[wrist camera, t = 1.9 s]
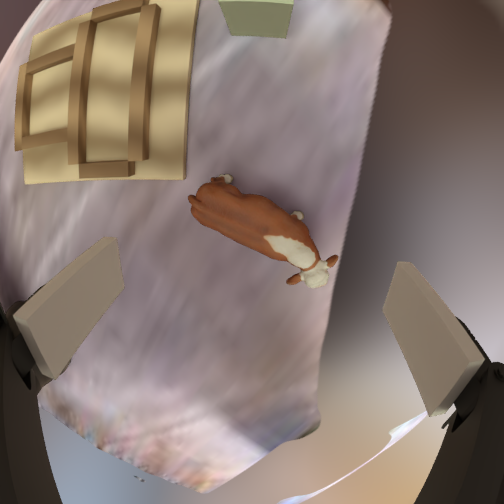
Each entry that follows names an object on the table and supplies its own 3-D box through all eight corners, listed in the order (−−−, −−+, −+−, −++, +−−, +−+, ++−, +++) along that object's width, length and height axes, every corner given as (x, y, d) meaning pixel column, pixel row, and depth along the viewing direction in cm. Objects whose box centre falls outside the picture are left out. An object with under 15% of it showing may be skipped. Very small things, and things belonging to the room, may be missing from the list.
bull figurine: (308, 264, 29) (321, 310, 22) (196, 196, 27) (169, 222, 19) (334, 231, 28) (357, 269, 20) (218, 157, 25) (198, 168, 18)
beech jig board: (185, 178, 26) (178, 183, 24) (29, 182, 26) (17, 187, 24) (200, -7, 18) (195, -17, 15) (38, 37, 18) (25, 34, 16)
